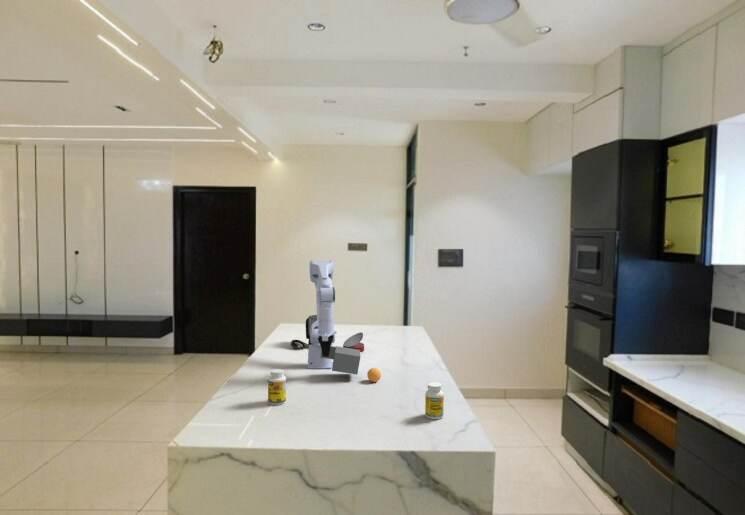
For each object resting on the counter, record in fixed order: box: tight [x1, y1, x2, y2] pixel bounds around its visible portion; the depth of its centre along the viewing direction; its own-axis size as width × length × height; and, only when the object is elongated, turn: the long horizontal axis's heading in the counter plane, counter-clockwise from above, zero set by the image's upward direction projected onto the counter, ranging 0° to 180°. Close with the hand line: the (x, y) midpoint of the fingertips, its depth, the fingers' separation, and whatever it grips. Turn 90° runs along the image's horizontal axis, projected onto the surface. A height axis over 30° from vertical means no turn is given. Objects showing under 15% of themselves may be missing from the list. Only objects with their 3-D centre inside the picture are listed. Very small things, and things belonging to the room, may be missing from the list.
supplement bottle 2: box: [424, 381, 445, 420], centre depth 132 cm, size 5×5×10 cm
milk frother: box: [290, 314, 317, 350], centre depth 212 cm, size 14×16×15 cm
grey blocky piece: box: [321, 345, 361, 375], centre depth 167 cm, size 14×9×8 cm, turn 93°
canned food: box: [342, 331, 365, 353], centre depth 207 cm, size 11×10×10 cm
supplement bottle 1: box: [267, 368, 287, 406], centre depth 141 cm, size 6×6×10 cm
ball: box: [366, 367, 382, 383], centre depth 163 cm, size 5×5×5 cm
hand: (325, 355), depth 167 cm, fingers closed on grey blocky piece
